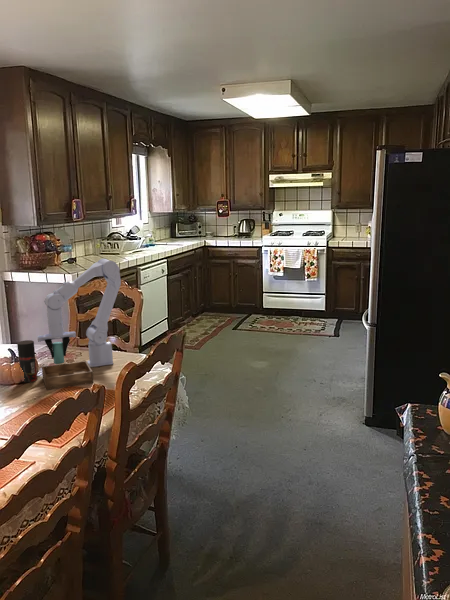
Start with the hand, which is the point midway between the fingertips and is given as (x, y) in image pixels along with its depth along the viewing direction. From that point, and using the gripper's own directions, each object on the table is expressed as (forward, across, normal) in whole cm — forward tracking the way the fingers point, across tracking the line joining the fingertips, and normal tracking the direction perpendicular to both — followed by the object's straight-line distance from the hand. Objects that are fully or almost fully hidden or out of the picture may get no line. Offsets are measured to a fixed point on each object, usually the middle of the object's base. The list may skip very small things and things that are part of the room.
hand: (58, 356), depth 211 cm
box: (+6, +1, -13) cm, 14 cm away
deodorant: (+6, -12, -6) cm, 15 cm away
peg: (+3, 0, 0) cm, 3 cm away
